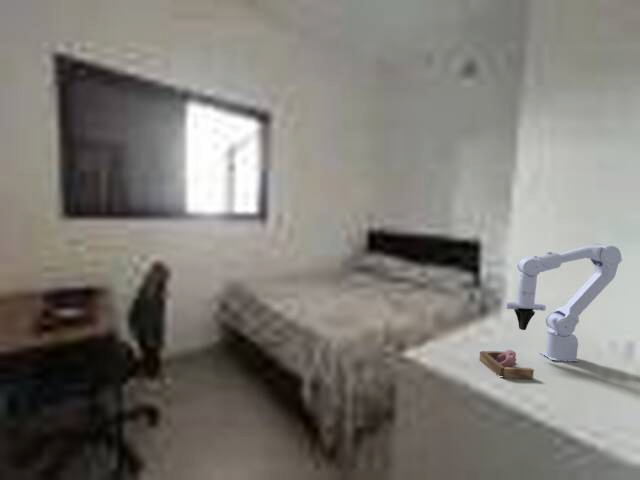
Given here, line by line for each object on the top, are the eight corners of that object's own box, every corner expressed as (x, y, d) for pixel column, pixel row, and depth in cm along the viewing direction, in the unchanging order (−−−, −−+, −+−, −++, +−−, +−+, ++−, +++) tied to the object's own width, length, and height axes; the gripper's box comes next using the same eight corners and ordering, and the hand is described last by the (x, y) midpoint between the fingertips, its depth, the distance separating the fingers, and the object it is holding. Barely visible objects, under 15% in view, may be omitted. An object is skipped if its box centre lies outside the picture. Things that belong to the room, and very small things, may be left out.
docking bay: (506, 360, 150) (507, 351, 150) (532, 379, 134) (533, 369, 134) (478, 359, 149) (479, 350, 149) (501, 378, 133) (502, 368, 133)
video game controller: (507, 377, 138) (520, 360, 137) (494, 369, 139) (507, 351, 138) (506, 367, 147) (518, 351, 146) (493, 359, 149) (505, 343, 147)
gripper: (538, 290, 159) (534, 326, 161) (501, 288, 158) (497, 325, 159) (550, 294, 152) (546, 332, 154) (511, 292, 151) (507, 331, 152)
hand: (522, 329), depth 156 cm, fingers closed
